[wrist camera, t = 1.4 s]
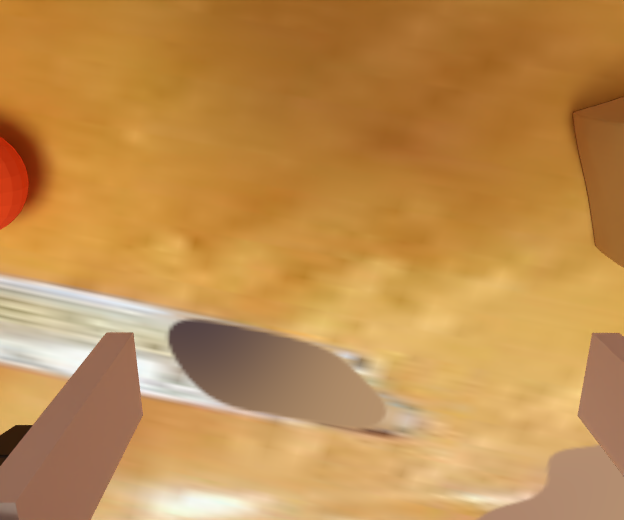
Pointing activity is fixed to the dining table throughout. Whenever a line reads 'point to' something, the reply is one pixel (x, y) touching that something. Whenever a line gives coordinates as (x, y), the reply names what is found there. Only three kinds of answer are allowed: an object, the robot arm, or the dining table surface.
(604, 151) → the cheese
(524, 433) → the dining table surface
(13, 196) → the clementine
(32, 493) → the robot arm
